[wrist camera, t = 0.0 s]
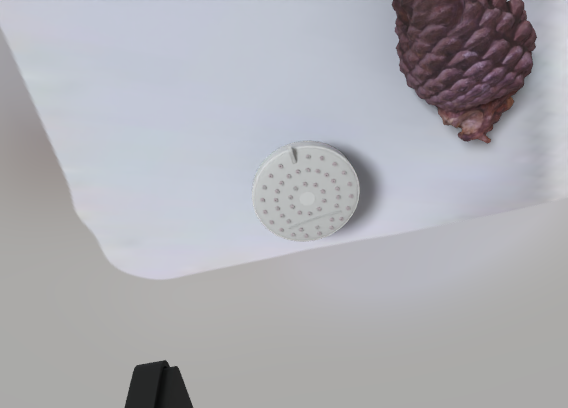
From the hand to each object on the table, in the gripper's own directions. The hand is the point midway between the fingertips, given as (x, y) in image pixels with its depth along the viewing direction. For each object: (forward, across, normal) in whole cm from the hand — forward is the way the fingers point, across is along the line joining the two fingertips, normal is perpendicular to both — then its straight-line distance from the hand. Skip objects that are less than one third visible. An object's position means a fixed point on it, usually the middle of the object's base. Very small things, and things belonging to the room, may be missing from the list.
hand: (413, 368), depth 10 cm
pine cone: (+37, -14, +2) cm, 40 cm away
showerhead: (+37, 0, +12) cm, 39 cm away
